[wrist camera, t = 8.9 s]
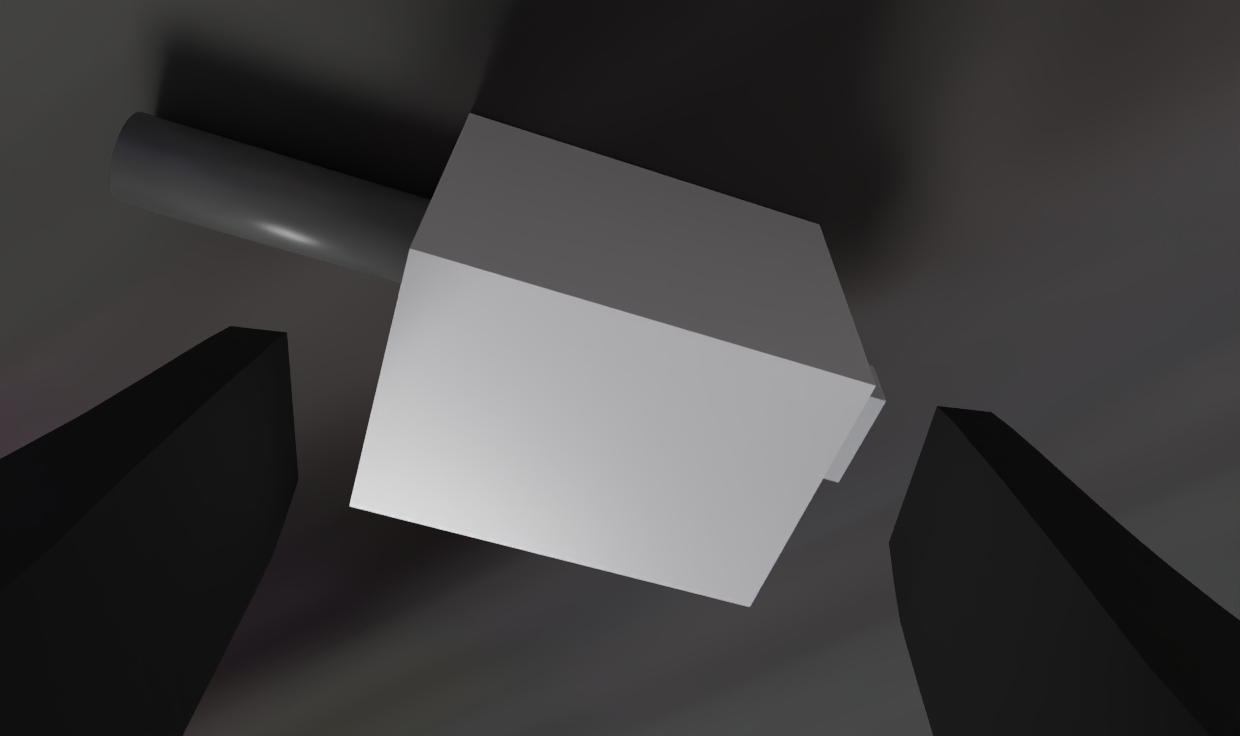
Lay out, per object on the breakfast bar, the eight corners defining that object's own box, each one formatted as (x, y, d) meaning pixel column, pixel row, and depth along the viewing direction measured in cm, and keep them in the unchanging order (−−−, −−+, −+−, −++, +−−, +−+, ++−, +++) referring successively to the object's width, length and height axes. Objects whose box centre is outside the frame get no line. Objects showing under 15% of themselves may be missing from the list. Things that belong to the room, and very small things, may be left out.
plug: (142, 252, 14) (-13, 415, 11) (159, 13, 12) (-21, 121, 9) (785, 433, 16) (824, 625, 12) (884, 245, 14) (960, 411, 11)
